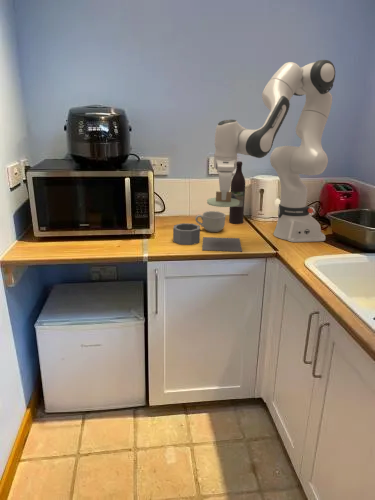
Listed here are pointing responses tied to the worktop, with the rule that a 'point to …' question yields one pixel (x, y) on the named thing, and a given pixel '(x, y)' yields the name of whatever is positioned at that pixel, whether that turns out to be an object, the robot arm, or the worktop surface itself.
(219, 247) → the mat
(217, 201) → the lid
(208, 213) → the teacup
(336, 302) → the worktop surface
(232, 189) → the wine bottle
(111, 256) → the worktop surface
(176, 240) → the octagonal grey bowl
